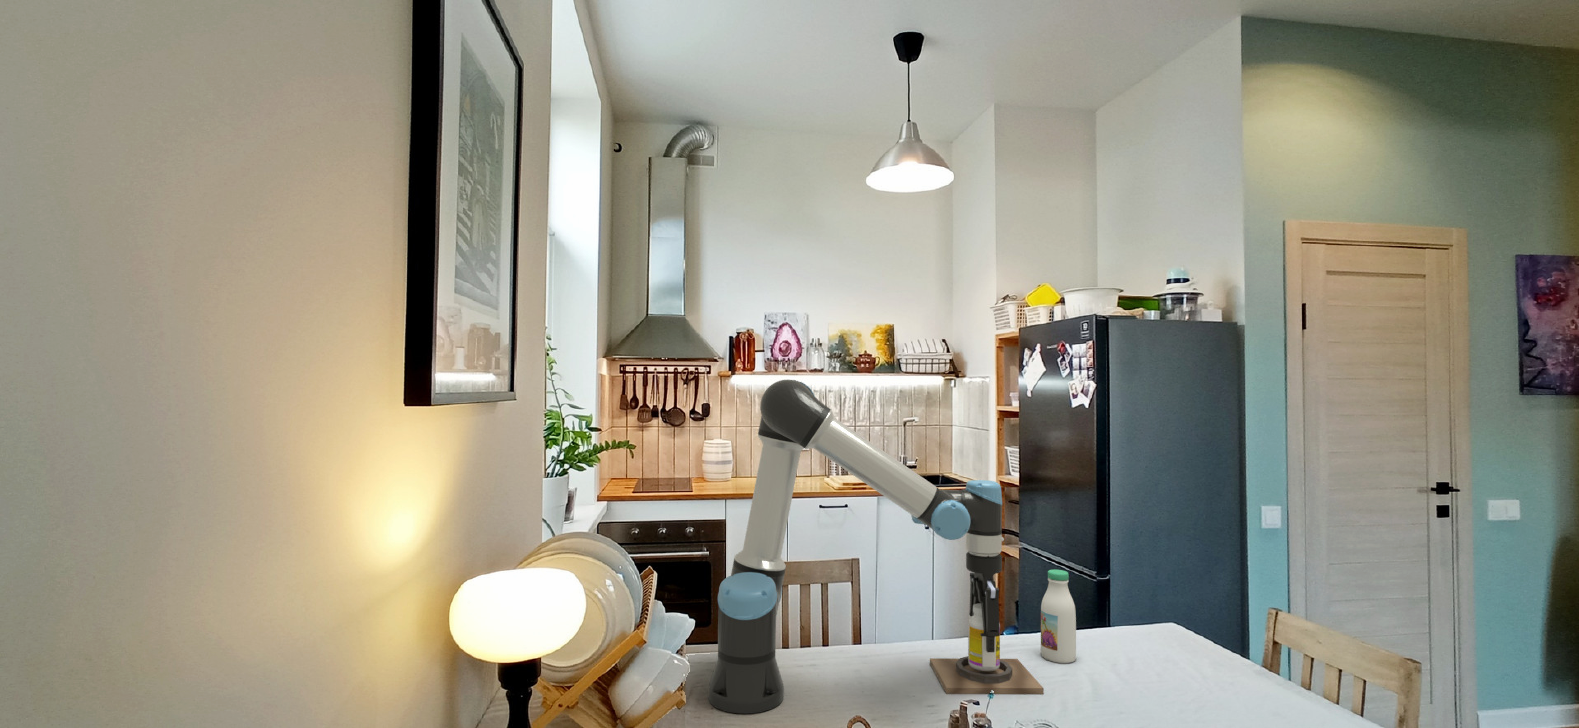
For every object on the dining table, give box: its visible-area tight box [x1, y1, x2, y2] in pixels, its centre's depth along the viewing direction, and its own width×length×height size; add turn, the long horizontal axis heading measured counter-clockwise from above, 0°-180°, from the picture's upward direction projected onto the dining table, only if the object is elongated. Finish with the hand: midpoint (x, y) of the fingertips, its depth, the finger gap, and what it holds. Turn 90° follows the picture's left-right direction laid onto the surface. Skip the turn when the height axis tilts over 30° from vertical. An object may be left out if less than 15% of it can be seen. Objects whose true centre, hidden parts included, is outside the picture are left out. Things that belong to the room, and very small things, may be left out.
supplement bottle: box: [967, 603, 1001, 671], centre depth 155 cm, size 7×7×13 cm
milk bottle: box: [1040, 569, 1077, 664], centre depth 168 cm, size 8×8×20 cm
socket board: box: [929, 655, 1045, 695], centre depth 155 cm, size 20×16×3 cm
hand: (983, 659), depth 155 cm, fingers closed on supplement bottle, 7 cm apart
